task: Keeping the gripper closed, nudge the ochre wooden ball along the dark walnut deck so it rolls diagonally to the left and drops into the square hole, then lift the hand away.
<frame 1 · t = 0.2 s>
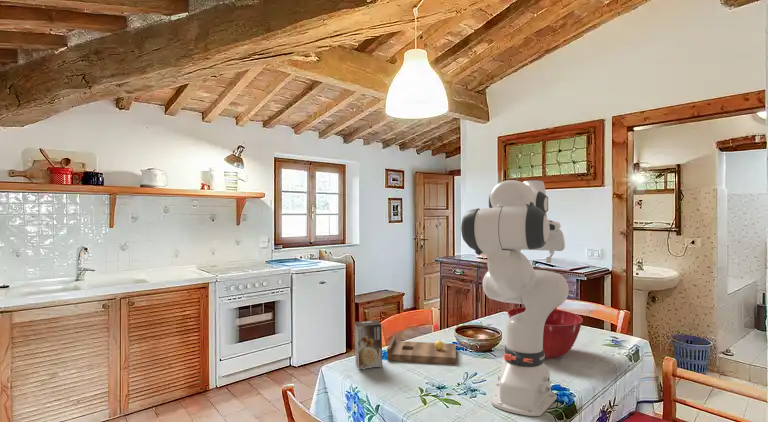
hand: (535, 261, 149), 39 cm above the table, tool pointing down, fingers open, 8 cm apart
deck: (422, 355, 162), on the table
mixing bowl: (544, 353, 164), on the table
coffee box: (368, 366, 151), on the table
ball: (438, 345, 161), point 4 cm above the table, touching deck
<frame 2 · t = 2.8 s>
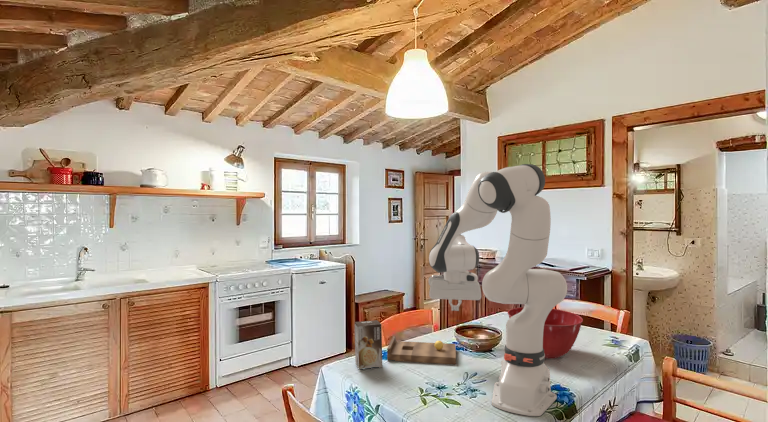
hand: (455, 310, 160), 18 cm above the table, tool pointing down, fingers closed
nothing on the table moved.
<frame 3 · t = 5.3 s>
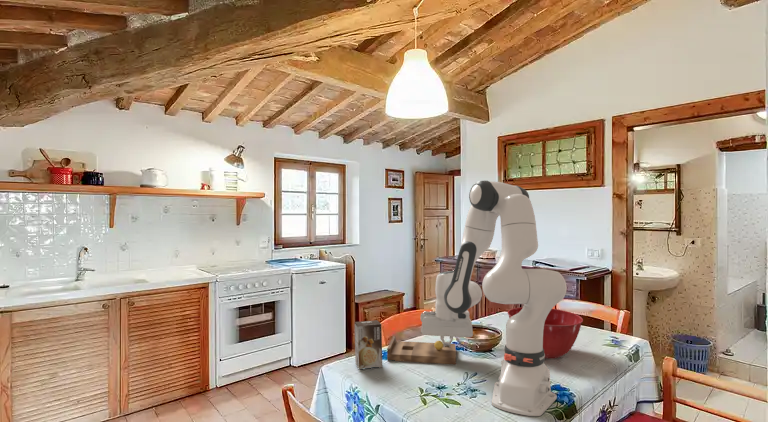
hand: (446, 346, 161), 4 cm above the table, tool pointing down, fingers closed
ball: (438, 345, 161), point 4 cm above the table, touching deck, gripper
everything else where it was.
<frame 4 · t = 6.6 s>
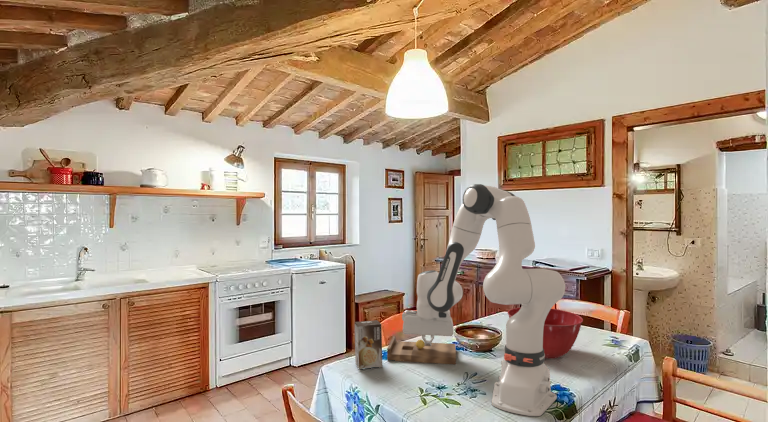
hand: (428, 345, 162), 4 cm above the table, tool pointing down, fingers closed
ball: (420, 344, 162), point 4 cm above the table, tilted 116°, touching deck, gripper
everything else where it was.
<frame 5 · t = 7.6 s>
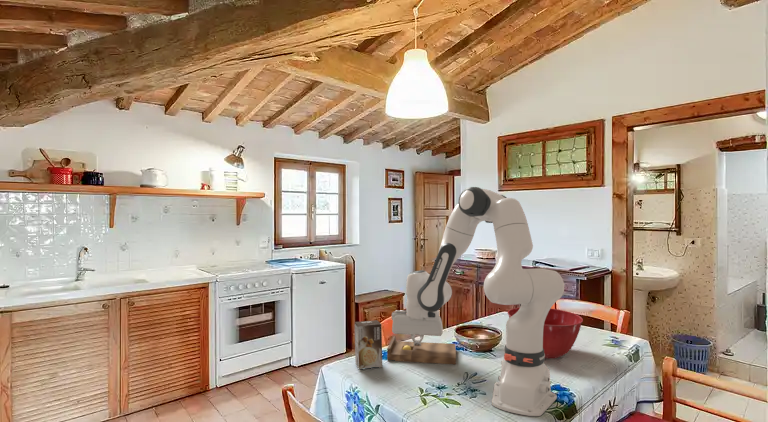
hand: (417, 345, 163), 4 cm above the table, tool pointing down, fingers closed
ball: (406, 349, 163), point 2 cm above the table, tilted 109°
everything else where it was.
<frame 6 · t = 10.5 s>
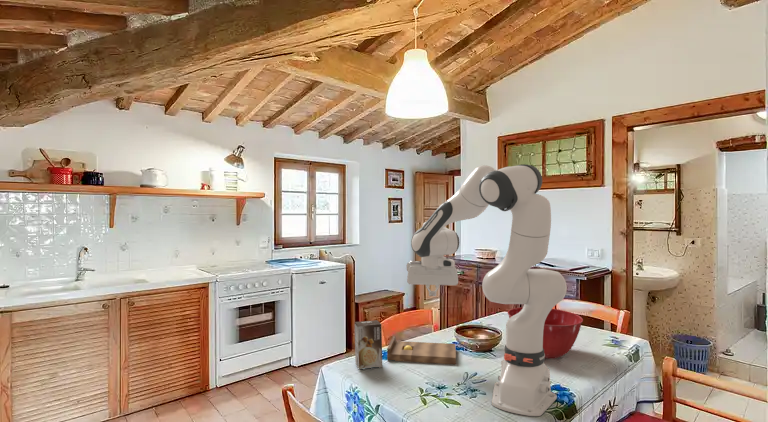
hand: (432, 295, 162), 24 cm above the table, tool pointing down, fingers closed
ball: (408, 349, 163), point 2 cm above the table, tilted 93°
everything else where it was.
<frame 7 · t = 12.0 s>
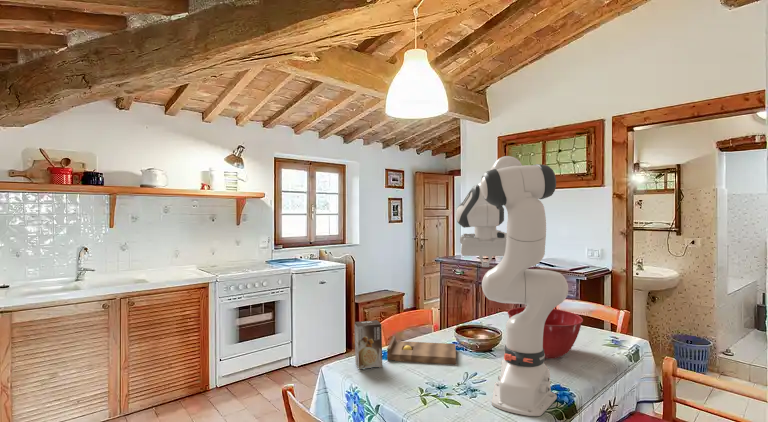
hand: (485, 266, 170), 34 cm above the table, tool pointing down, fingers closed
ball: (407, 349, 163), point 2 cm above the table, tilted 101°
everything else where it was.
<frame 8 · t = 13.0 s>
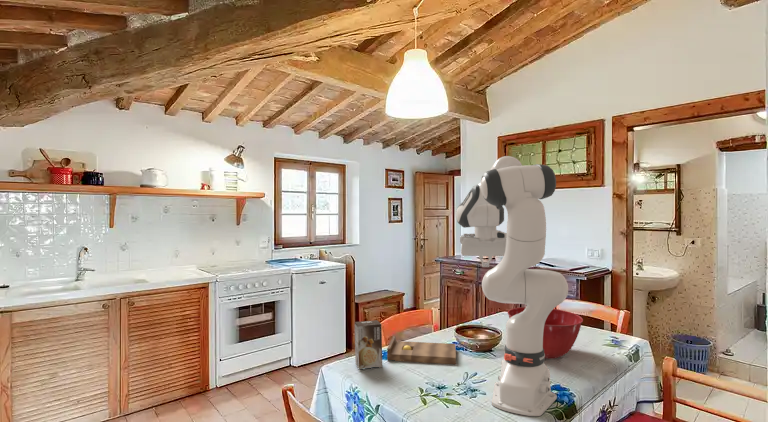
hand: (485, 266, 170), 34 cm above the table, tool pointing down, fingers closed
ball: (407, 349, 163), point 2 cm above the table, tilted 106°
everything else where it was.
at the end: ball 0.3 cm from the target spot, point 1.7 cm above the table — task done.
